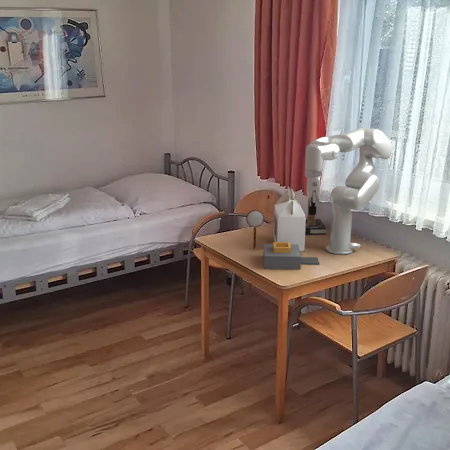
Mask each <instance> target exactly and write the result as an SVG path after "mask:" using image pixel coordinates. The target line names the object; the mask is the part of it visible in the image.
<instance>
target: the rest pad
mask: <svg viewBox="0 0 450 450" xmlns="http://www.w3.org/2000/svg"><path fill="white" fill-rule="evenodd" d="M301 265H319V266H320V265H321V263H320V261H319V258H318V257H317V256H316V257H315V256H311V257H310V256H301Z"/></svg>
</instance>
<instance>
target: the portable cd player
mask: <svg viewBox="0 0 450 450" xmlns="http://www.w3.org/2000/svg"><path fill="white" fill-rule="evenodd" d="M307 220H308V218H306V224H305V236H312V235H313V236H315V235H316V236H317V235H319V236H321V235H322V236H323V235H325V236H326V235H327V226H326V225H325V224H324V222H322V219H321V218H315V225H308V224H307Z"/></svg>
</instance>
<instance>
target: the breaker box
mask: <svg viewBox="0 0 450 450" xmlns="http://www.w3.org/2000/svg"><path fill="white" fill-rule="evenodd" d="M262 253H263V256H262V258H263V266H264V267H263V268H264V269H263V270H265V269H266V270H302V269H301V268H302V267H301V265H302V264H301V257H302V254H301V251H300V250H299V246H298V244H290V242H275V241H273V243H263V252H262Z"/></svg>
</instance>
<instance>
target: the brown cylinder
mask: <svg viewBox="0 0 450 450" xmlns="http://www.w3.org/2000/svg"><path fill="white" fill-rule="evenodd" d="M307 198H308V197H307ZM311 199H313V198H311ZM307 202H308V203H307V219H308V220H307V224H308V225H315V219H317V217H316V216H317V214H316V215H309V206H310V199H309V198H308V201H307ZM311 202H312V201H311Z"/></svg>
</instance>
